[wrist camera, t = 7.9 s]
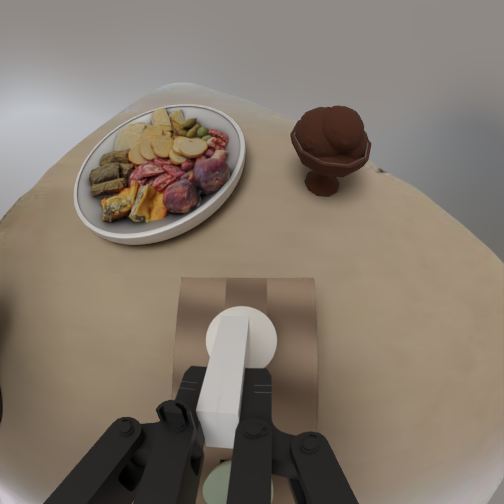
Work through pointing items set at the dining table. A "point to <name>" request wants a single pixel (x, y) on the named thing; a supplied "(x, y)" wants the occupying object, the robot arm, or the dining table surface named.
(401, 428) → the dining table surface
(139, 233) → the bowl
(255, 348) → the cream button
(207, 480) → the sage button
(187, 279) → the console
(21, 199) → the dining table surface
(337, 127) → the ice cream bowl
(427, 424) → the dining table surface
